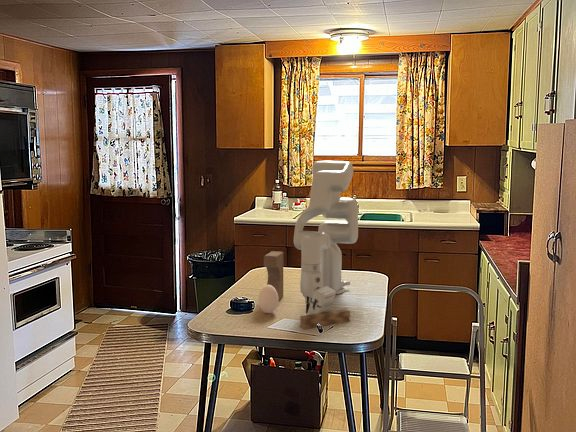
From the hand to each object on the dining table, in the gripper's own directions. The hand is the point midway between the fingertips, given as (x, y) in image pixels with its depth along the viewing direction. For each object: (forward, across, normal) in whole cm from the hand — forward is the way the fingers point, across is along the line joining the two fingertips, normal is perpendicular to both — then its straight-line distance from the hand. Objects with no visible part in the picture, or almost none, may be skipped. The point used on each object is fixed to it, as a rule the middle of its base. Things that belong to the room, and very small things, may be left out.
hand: (310, 313), depth 233 cm
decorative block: (+2, +28, +1) cm, 28 cm away
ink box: (+1, -4, 0) cm, 4 cm away
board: (+1, -10, 0) cm, 10 cm away
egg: (+2, +12, +12) cm, 17 cm away
